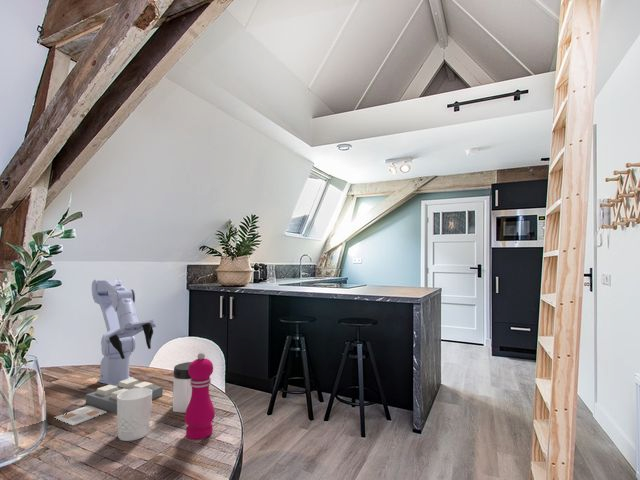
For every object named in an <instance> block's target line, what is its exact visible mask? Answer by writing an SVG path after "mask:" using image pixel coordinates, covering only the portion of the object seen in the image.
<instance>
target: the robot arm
mask: <svg viewBox="0 0 640 480" xmlns="http://www.w3.org/2000/svg"><path fill="white" fill-rule="evenodd" d="M135 293H136V292H135V290H134V289H127V288H126V287H125V286H124V285H123V282H122V279H120V278H116V279H93V281H92V282H91V296H92V299H93V302H94V304H95V303H96V304H97V305H99V306H100V310H101V312H102V317H103V320H104V323H105V328H106V332H105V333H104V334H103V335H102V337H101V339H100V340H101V342H100V346H101V354H102V356H103V357H102V358H101V360H100V371H99V379H97V383H98V382H99V383H102V384H105V385H113V386H114V385H117V384H119V382H120V381H123V380H126V379H129V378H133V379H136V378H135V377H132V376H130V365H131V364H130V362H131V361H130V360H131V359H130V358H131V355H132V353H133V352H134V351H135V350H136V347H137V346H136V337H135V335H138V334H140V333H141V332H144V336H145V338H144V339H145V343H146V344H145V345H146V346H147V349H148V350H150V349H152V345H151V343H152V338H153V335H154V328H156V323H155V320H154V319H149V320H145V321H139V320H140V319H139V317H138V313H137V309H136V306H135V302H136V294H135Z"/></svg>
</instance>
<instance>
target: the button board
mask: <svg viewBox="0 0 640 480" xmlns="http://www.w3.org/2000/svg"><path fill="white" fill-rule="evenodd" d="M142 382H143V381H140V380H138V384H139V383H142ZM114 386H117V387H118V390H121V389H126V388H122V387H119V384H117V385H114ZM163 388H164V387H163V386H159V385H155V384H153V389H151V390H152V400H155V399H158V398H160V397H162V396H163ZM127 389H128V390H130V389H133V387H130V388H127ZM86 403H87V405H89V406H92V407H95V408H98V409H101V410H104V411H107V412H111V413H115V414H117V400H115V399H112V398H111V394H110V395H107V396H102V395H98V394H97V390H96V391H93V392H89V393H86V394H85V404H86Z"/></svg>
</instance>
